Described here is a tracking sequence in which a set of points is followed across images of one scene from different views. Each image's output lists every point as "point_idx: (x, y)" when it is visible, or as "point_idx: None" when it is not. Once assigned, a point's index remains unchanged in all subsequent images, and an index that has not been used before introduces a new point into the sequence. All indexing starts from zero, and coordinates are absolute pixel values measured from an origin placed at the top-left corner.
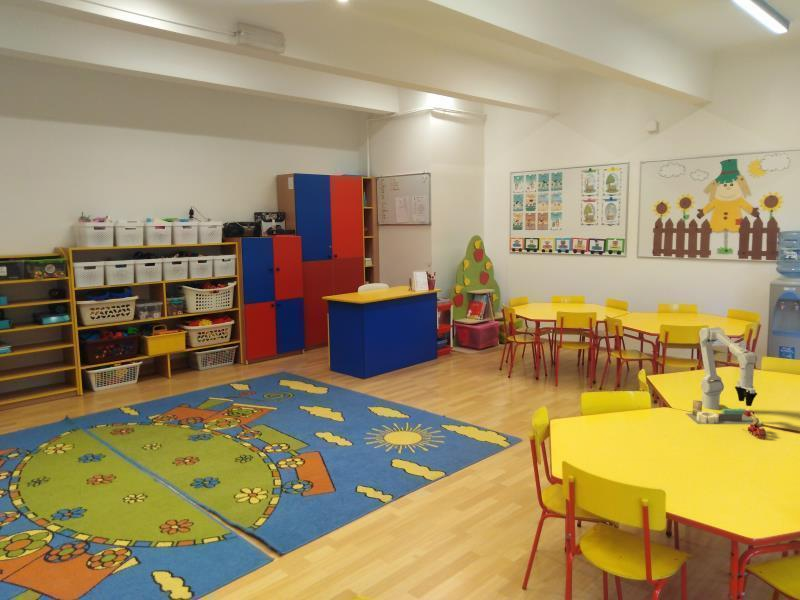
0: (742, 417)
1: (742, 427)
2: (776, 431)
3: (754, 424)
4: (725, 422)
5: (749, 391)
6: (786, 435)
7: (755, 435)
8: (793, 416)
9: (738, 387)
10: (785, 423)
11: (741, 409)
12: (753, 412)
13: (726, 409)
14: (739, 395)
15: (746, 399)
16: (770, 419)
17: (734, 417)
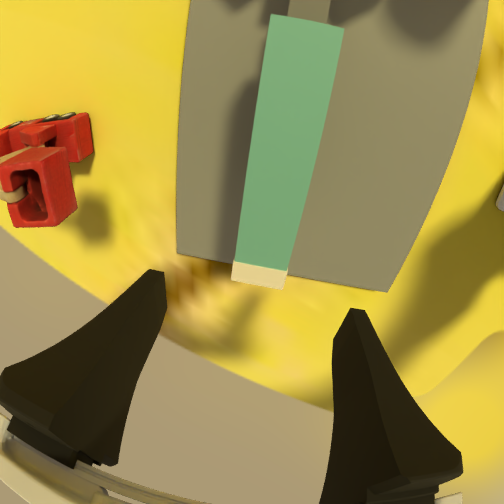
0: (331, 227)
1: (170, 119)
2: (117, 263)
3: (13, 152)
4: (235, 19)
5: (29, 445)
6: (76, 266)
7: (25, 121)
8: (303, 401)
9: (395, 490)
10: (230, 353)
11: (275, 233)
12: (12, 215)
13: (308, 64)
14: (363, 373)
15: (88, 323)
16: (294, 341)
17: None
